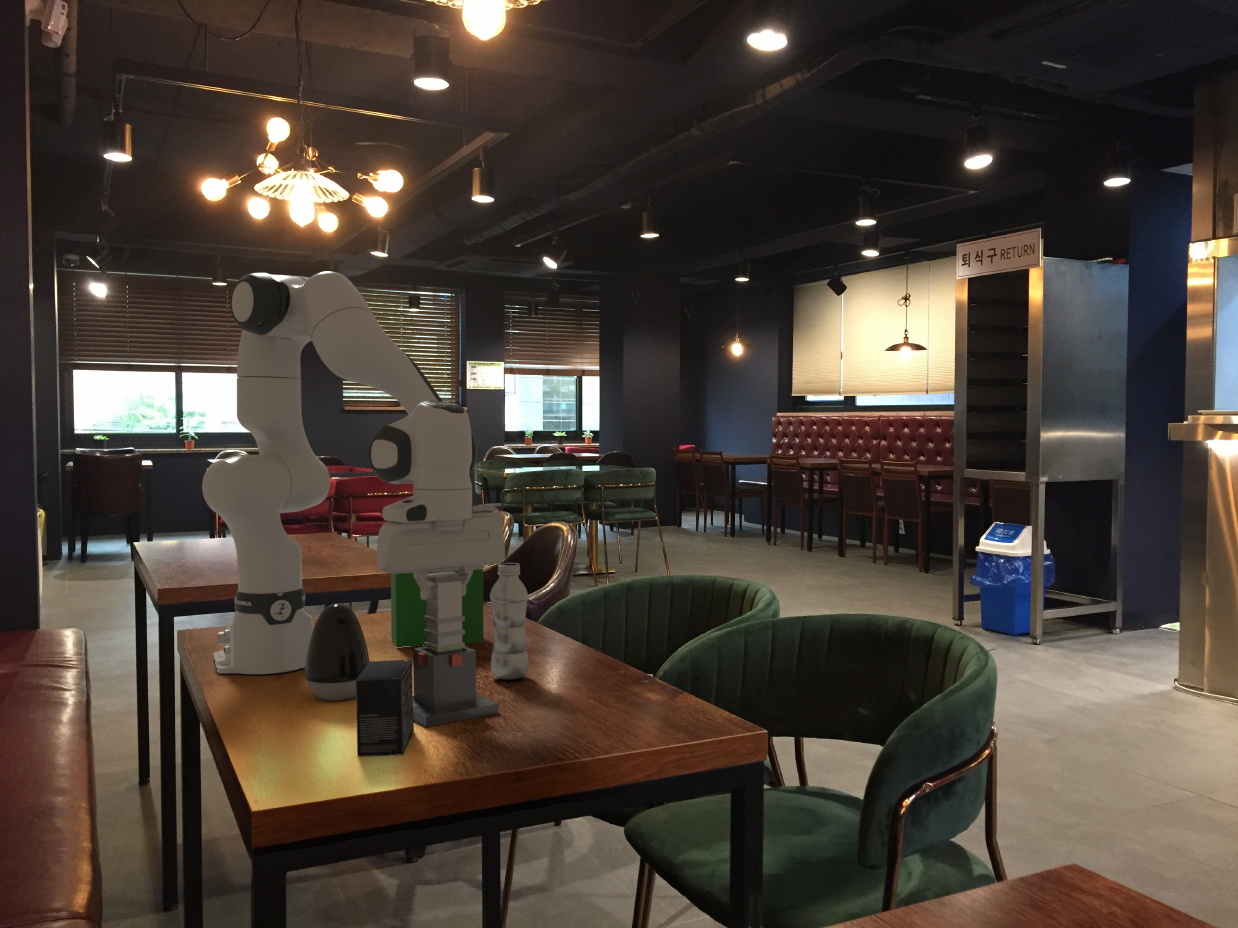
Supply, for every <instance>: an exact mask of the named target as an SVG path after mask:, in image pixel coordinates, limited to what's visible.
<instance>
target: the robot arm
mask: <svg viewBox="0 0 1238 928" xmlns="http://www.w3.org/2000/svg"><path fill="white" fill-rule="evenodd" d="M230 310H231V311H230V312H231V315H232V317H233V319H234V321H235V323H236V325H237V327H238V328H240V329H241V330H242V331H241V335H240V341H239V345H238V353H237V354H238V355H237V360H236V361H237V365H236V418H237V421H238V423H239V424H240V425H241V427H243V428H244V429H245V430H246V431H248V432H249V433H250V434H251V435H252V436H253V438H254V440H255V443H256V446H257V449H258V454H240V455H233V456H230V457H227V458H223V459H219V460H217V461H214V462H213V463H211V464H210V465H209V466H208V468H207V469H206V471H205V473H204V474H203V478H202V482H201V483H202V484H201V485H202V486H201V488H202V489H201V490H202V495H203V498H204V500H205V502H206V504H207V506H208V508H210V509H211V510H212V511H213V512H214V513H216V514H217V515H218V516H219V517H221V519H222V520H223V522H224V523H225V524H226V526H227V528H228V530H229V533H230V534H231V536H232V539H233V542H234V543H233V544H234V546H235V551H236V560H237V561H236V562H237V578H238V579H237V581H238V582H237V585H238V588H237V589H238V590H236V592H235V597H234V610H235V612H234V615H233V616H232V618H231V619H230V621H229V623H228V624H227V626H226V628H225V630H224V631H219V632H217V643H218V645H219V646H221V645H225V646H224V648H223V649H222V650H218V651H216V652H214V653H213V656H214V659H213V661H214V660H215V663H214V666H215V665H216V666H215V669H216V668H217V670H216V673H217V672H218V673H217V674H242V675H243V674H244V675H267V674H268V675H269V674H279V673H280V674H281V673H287V672H292V671H297V670H300V668H301V669H305V664H306V657H307V651H308V647H309V643H310V639H311V635H312V632H313V629H314V622H313V617H312V616H311V615H310V614H309V613H307V612H306V611H305V608H304V607H305V606H306V594H305V588H304V587H303V576H302V575H303V567H302V565H303V564H302V563H303V560H302V559H303V557H302V553H303V552H302V547H301V545H300V544H299V542H298V541H297V540H296V539H295V538H293V537H291V536H289V535H288V534H287V532H286V531H285V529H284V526H283V523H282V519H281V514H285V513H295V512H301V511H304V510H307V509H310V508H312V507H315V506H318V505H319V504H321V503H322V502H324V500H326V499H327V497H328V495H329V492H330V489H331V488H330V487H331V477H330V472H329V470H328V468H327V466H326V465H325V464H324V463H323V461H322V460H320V459H319V458H318V457H317V455H316V454H315V453H314V451H313V449H312V448H311V445H310V442H309V440H308V438H307V434H306V431H305V427H304V423H303V416H302V415H303V413H302V412H303V410H302V380H301V379H302V374H301V373H302V372H301V371H302V370H301V354H302V351H303V349H304V348H305V346H306V345H307V344H308V343H310V342H311V344H312V345H313V346H314V348H315V351H316V352H317V354H318V356H319V358H320V359H321V362H323V364H324V365H325V366H326V367H327V368H328V370H329V371H330V372H331V373H333V374H334V375H335V376H336V377H339V378H341V379H343V380H346V381H350V382H352V383H357V384H360V385H364V386H366V387H370V388H373V389H375V390H378V391H381V392H383V393H385V394H388V395H389V396H390V397H392V398H393V399H395V400H396V401H397V402H398V403H399V404H400V405H401V406H402V408H403V409H404V410H405V412H406V413H407V414H408V415H406V416H404V417H402V418H401V419H399V420H397V421H395V422H392V423H390V424H386V425H382V426H381V427H380V428H378V429H377V430H376V431H375V433H374V434H373V436H371V437H372V438H371V439H370V443H369V447H368V458H369V459H368V460H369V464H370V466H371V469H372V471H373V473H374V474H375V476H376V477H377V478H378V479H380V481H382V482H384V483H389V484H393V485H407V484H408V485H409V484H411V485H413V490H412V491H413V492H412V493H413V495H411V496H408V497H406V498H404V499H400V500H399V501H395V502H393V503H390V504H388V505H386V506H384V507H383V508H382V511H381V513H382V519H383V520H384V521H386V522H384V523H383V524H382V525H381V527H380V529H379V531H378V535H377V536H378V537H377V545H376V546H377V547H376V565H377V566H378V569H380V571H381V572H383V573H387V574H391V573H401V572H412V571H413V577H414V579H415V580H416V582H417V584H418V585H419V587H420V596H421V599H422V600H430V599H434V588H432V587H429V586H428V584H427V583H426V581H425V579H424V578H426V577H428V570H434V569H445V568H456V567H459V572H461V574H465V575H467V580H465V581H462V596H465V595H466V584H467V583H468V581H469V579H470V578H471V576H472V574H473V566H478V565H483V566H487V565H488V566H489V565H496V564H502V562H503V561H504V559H505V557H506V547H505V546H506V545H505V538H504V532H503V527H504V515H503V513H502V511H501V510H500V509H499V508H498V507H495V505H493V504H492V505H491V504H487V505H473V484H472V480H471V477H470V475H471V474H472V472H473V471H474V468H475V466H476V465H477V464H476V463H477V462H478V461H477V460H478V453H479V452H478V446H477V442H476V440H475V437H474V435H473V434H472V429H471V424H470V423H471V422H470V419H469V415H468V412H467V410H466V409H465V408H464V407H463V406H462V405H460V404H457V403H454V402H449V401H448V402H447V401H446V402H445V401H443V400H442V398H441V396H440V395H439V394H438V392H437V391H436V389H435V388H434V387H433V385H432V384H431V382H430V381H429V379H428V378H427V377H426V375H425V374H424V372H423V371H422V369H421V368H420V367H419V366H418V365H417V364H416V362H415V361H414V360H413V359H412V358H411V357H410V356H409V355H408V354H407V353H406V352H404V351H403V349H401V348H400V347H399V346H398V345H397V344H396V343H395V342H394V341H393V340H392V339H391V337H390V336H389V335H388V334H387V333H386V332H385V330H384V329H383V328H382V326H381V325H380V323H379V322H378V320H377V319H376V317H375V315H374V314H373V313H374V312H373V311H372V309H371V308H370V306H369V305H368V302H367V301H366V300H365V298H364V297H363V295H362V293H360V291H359V290H358V288H357V287H356V286H355V285H354V284H353V283H352V281H351V280H349V278H348V277H347V276H345V275H343V274H342V273H339V272H336V271H329V270H327V271H321V272H318V273H315V274H313V275H312V276H310V277H306V276H301V275H294V276H293V275H284V274H269V273H267V272H253V273H248V274H244V275H242V276H241V277H240V278H239V279H238V281H237V282H236V283H235V285H234V286H233V288H232V292H231V294H230Z"/></svg>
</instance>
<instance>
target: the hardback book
mask: <svg viewBox="0 0 1238 928" xmlns="http://www.w3.org/2000/svg"><path fill="white" fill-rule="evenodd" d="M449 571H452V572H456V573H461V572H459V567H456V568H445V569H434V570H428V573H439V572H449ZM390 604H391V605H390V613H391V614H390V615H391V616H390V623H391V627H390V628H391V629H390V630H391V631H390V632H391V633H390V634H391V638H392V640H393V642H394V644H395V645H396V647H402V646H423V645H424V642H427V634H424V629H426V620H424V616H426V600H422V599H421V596H420V587H419V585H418V584H417V582H416V580H415V579H414V577H413V571H412V572H401V573H390ZM462 616H464V617H465V621H462V630H465V634H464V635H462V643H465V644H473V643H472V642H475V643H480V642H479V641H484V565H478V566H473V574H472V576H471V578H470V579H469V581H468V583H467V584H466V595H465V596H462ZM394 644H393V645H394ZM396 647H395V648H396Z"/></svg>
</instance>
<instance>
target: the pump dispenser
mask: <svg viewBox="0 0 1238 928" xmlns="http://www.w3.org/2000/svg"><path fill="white" fill-rule="evenodd" d="M370 661H371V660H370V656H369V650H368V645H367V643H366V639H365V634H364V632H363V629H362V626H361V623H360V620H359V619H358V617H357V615H356V614H355V612H354V610H352V608H351V607H350V606H349V605H346V604H344V603H336V602H335V603H332V604H330V605H328V606H326V607H325V608H323V610H322V611H321V612H320V614H319V616H318V618H317V619H316V621H315V624H314V625H313V632H312V635H311V639H310V643H309V647H308V651H307V657H306V664H305V667H304V678H305V679H304V680H306V682H307V685H308V689H310V692H311V693H312V694H313V695H314V696H315V697H317V698H318V699H321V700H323V701H329V702H338V701H340V702H341V701H344V700H349V699H353V698H354V697H356V679H357V678H358V677H359V675H360V674H361V673H362V671H363V670H364V669H365V667H366V666H367V664H368V663H369V662H370Z"/></svg>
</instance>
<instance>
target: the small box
mask: <svg viewBox="0 0 1238 928" xmlns="http://www.w3.org/2000/svg"><path fill="white" fill-rule="evenodd" d="M369 661H370V662H369V663H368V664H367V666H366V667H365V669H364V670H363V671H362V673H361V674H360V675H359V677H358V678H357V679H356V696H355V699H356V700H355V703H356V704H355V706H356V708H355V709H356V749H357V750H356V751H357V752H356V753H357V757H379V756H382V757H384V756H386V757H387V756H403V755H405V752H406V750H407V748H408V745H409V743H410V741H411V738H412V736H413V734H414V731H415V724H414V722H415V721H414V720H413V697H412V696H413V695H414V685H413V660H412V659H396V660H393V659H392V660H375V661H373V660H372V661H371V660H369Z"/></svg>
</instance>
